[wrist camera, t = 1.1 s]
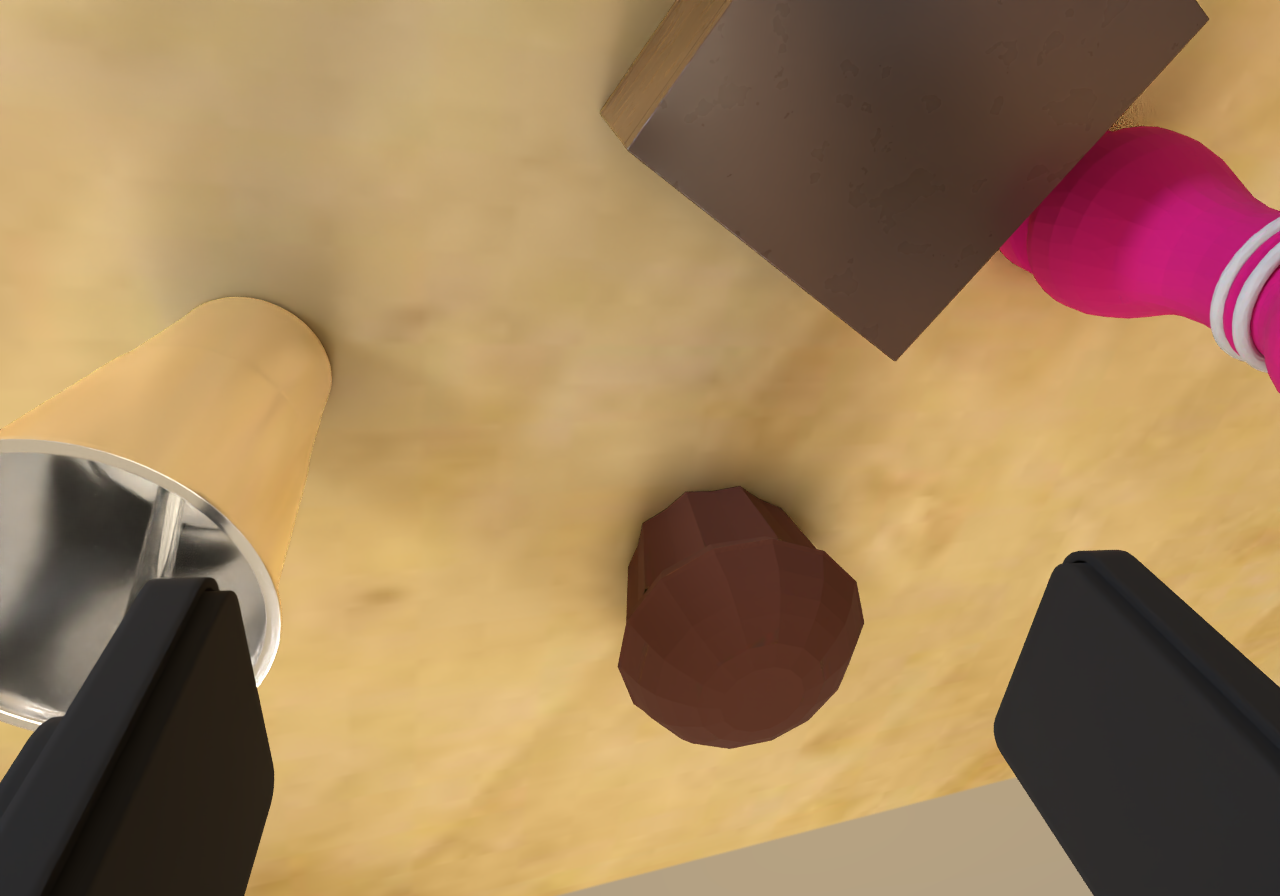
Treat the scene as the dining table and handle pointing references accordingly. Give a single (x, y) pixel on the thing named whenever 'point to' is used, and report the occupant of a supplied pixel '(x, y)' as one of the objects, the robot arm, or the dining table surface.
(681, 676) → the muffin
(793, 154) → the cabinet
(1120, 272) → the pepper mill
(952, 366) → the dining table surface
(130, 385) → the metal cup with straw
